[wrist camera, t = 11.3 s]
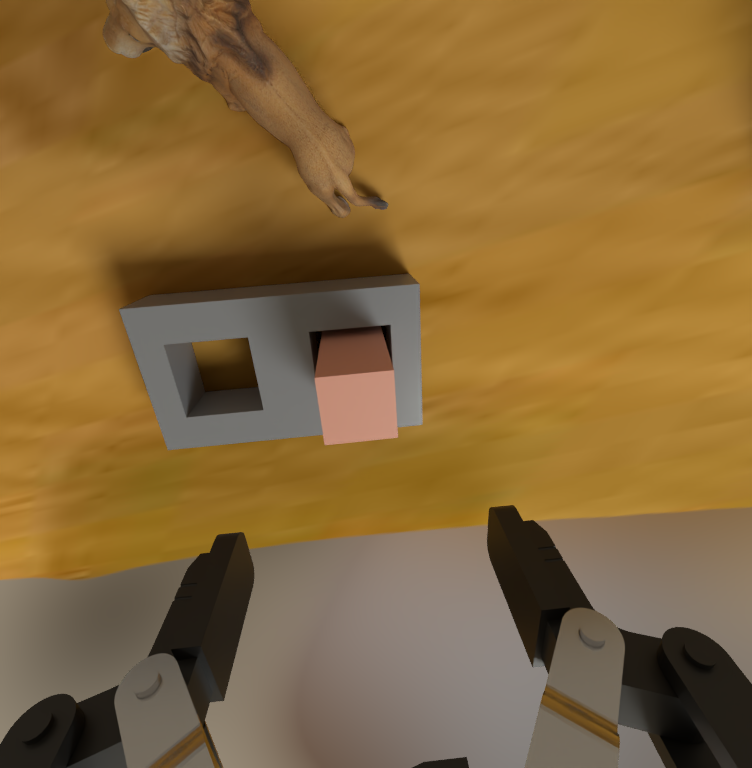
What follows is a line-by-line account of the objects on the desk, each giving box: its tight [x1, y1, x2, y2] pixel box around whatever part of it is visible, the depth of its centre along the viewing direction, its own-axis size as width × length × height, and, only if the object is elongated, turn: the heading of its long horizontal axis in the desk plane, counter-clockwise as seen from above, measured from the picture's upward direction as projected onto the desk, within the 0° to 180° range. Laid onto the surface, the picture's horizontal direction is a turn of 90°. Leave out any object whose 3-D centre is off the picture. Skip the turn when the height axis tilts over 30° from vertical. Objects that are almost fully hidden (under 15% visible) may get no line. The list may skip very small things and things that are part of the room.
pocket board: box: [119, 274, 422, 450], centre depth 27 cm, size 18×10×4 cm, turn 94°
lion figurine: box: [103, 0, 388, 218], centre depth 19 cm, size 15×5×9 cm, turn 53°
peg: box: [315, 326, 398, 445], centre depth 25 cm, size 4×4×10 cm
